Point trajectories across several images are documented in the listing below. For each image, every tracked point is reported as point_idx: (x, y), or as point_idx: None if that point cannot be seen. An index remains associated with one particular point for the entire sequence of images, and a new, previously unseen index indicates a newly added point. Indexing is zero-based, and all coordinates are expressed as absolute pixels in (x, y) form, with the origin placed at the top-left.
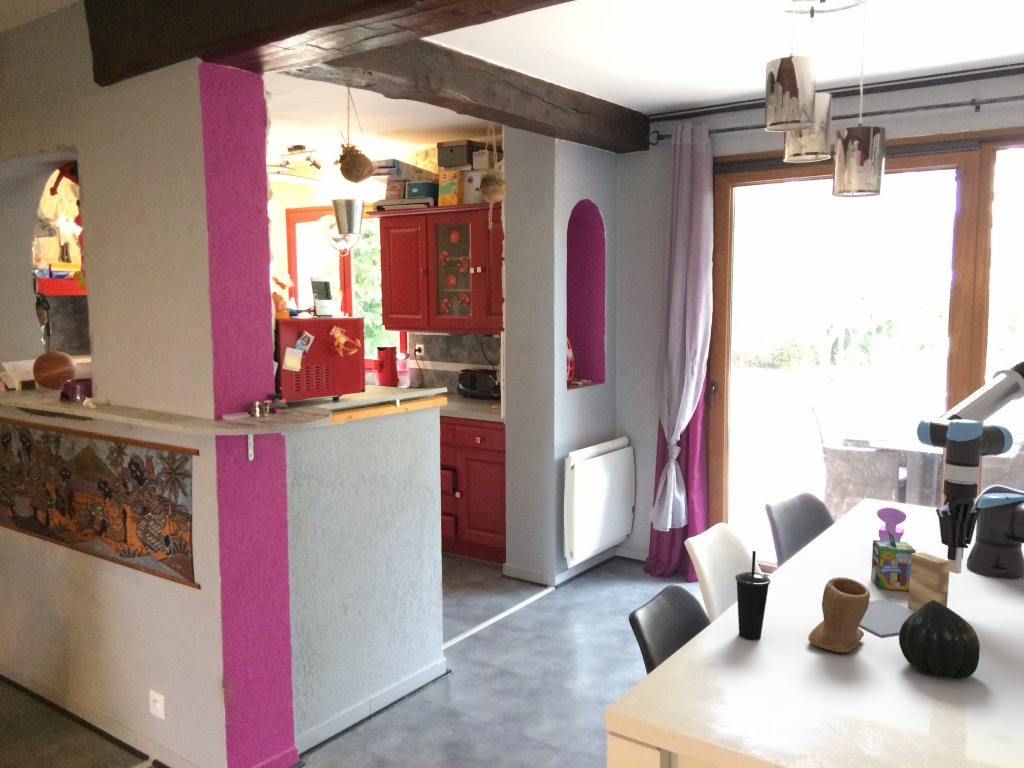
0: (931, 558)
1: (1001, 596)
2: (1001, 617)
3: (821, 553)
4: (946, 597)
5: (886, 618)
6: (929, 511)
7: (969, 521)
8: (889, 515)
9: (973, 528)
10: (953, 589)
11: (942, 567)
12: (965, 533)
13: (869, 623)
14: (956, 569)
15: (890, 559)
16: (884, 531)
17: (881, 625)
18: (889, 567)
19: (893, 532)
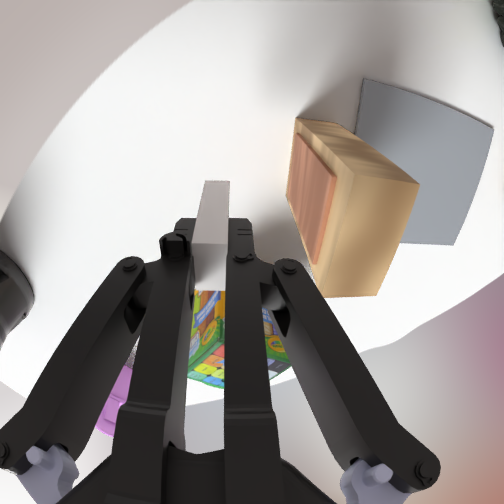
0: (379, 236)
1: (45, 183)
2: (151, 65)
3: (221, 389)
4: (313, 129)
5: (434, 167)
6: (18, 390)
7: (85, 392)
8: (112, 423)
9: (75, 334)
10: (115, 242)
11: (385, 170)
12: (155, 315)
13: (471, 168)
14: (228, 190)
15: (271, 334)
16: (121, 401)
17: (466, 151)
18: (270, 318)
19: (110, 396)
